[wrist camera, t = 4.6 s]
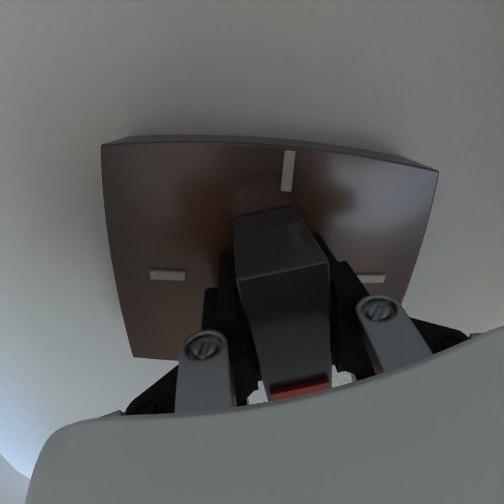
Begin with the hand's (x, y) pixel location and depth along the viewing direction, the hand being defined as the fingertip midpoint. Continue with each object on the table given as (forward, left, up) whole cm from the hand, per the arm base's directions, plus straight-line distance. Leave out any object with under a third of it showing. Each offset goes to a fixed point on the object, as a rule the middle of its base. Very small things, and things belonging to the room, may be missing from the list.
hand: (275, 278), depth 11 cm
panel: (0, 0, -3) cm, 3 cm away
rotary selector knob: (0, 0, 0) cm, 0 cm away
